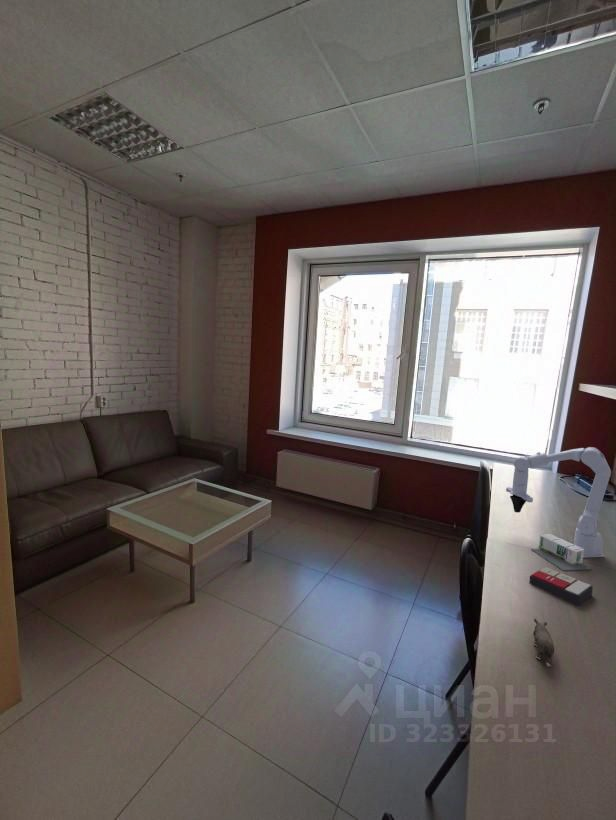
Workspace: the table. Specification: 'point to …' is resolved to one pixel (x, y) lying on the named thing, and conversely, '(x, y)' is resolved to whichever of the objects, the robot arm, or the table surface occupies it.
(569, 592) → the red and white box
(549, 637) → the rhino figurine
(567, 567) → the mat
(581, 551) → the syrup box
